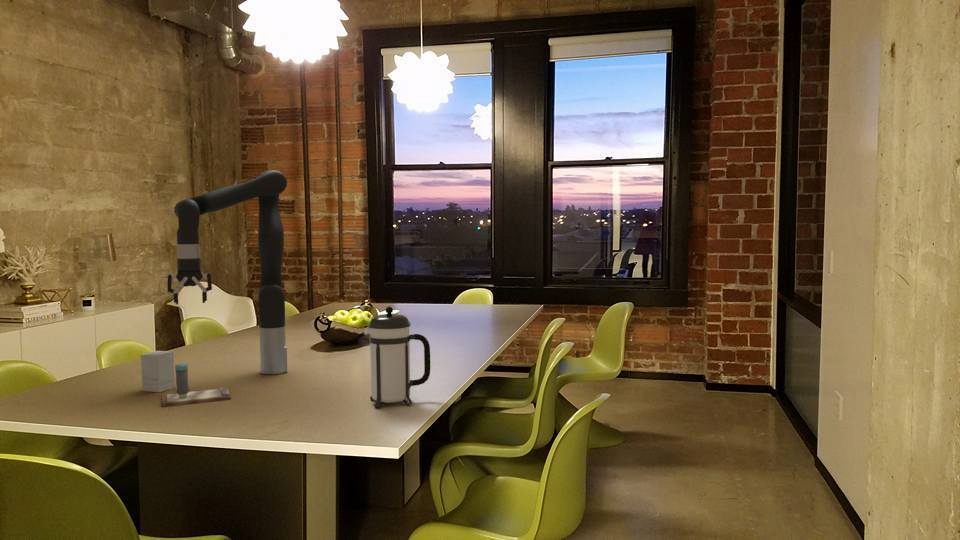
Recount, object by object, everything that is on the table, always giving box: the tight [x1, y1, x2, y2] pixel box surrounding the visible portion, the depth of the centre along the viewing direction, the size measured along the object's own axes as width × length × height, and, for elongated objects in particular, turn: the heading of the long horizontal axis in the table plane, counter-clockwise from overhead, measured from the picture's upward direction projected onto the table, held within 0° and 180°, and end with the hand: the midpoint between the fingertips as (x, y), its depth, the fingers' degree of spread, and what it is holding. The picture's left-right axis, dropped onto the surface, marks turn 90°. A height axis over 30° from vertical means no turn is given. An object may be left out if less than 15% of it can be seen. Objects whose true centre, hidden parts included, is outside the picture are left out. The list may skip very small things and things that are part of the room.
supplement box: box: [140, 350, 176, 393], centre depth 229 cm, size 7×7×13 cm
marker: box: [174, 363, 189, 399], centre depth 214 cm, size 4×4×10 cm
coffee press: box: [363, 306, 431, 409], centre depth 209 cm, size 17×16×30 cm
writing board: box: [161, 386, 232, 408], centre depth 217 cm, size 20×13×2 cm, turn 115°
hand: (190, 303), depth 237 cm, fingers open, 8 cm apart
